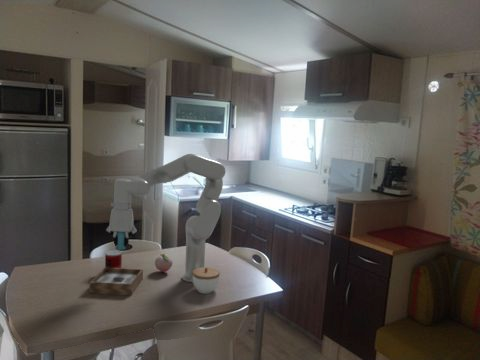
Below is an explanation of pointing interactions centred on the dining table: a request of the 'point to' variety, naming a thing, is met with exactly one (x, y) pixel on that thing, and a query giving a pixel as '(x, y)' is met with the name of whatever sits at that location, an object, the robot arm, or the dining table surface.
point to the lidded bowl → (205, 279)
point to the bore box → (116, 281)
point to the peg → (120, 240)
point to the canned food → (113, 259)
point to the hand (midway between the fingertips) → (121, 245)
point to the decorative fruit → (163, 263)
